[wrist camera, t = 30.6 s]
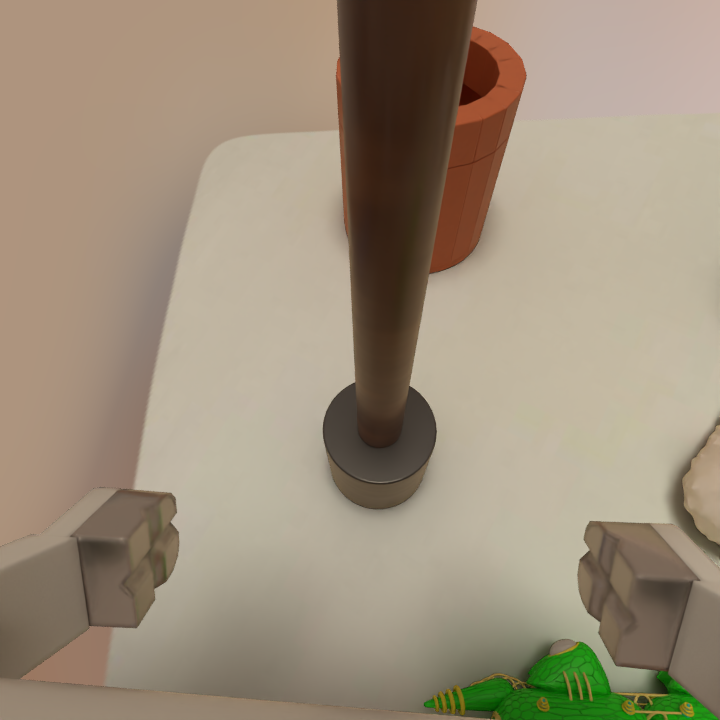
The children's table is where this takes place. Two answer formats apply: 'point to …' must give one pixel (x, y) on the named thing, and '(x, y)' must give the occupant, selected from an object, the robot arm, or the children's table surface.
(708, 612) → the robot arm
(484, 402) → the children's table surface
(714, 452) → the sitting furry creature
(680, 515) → the children's table surface
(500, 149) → the terracotta flower pot
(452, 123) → the rod on round base
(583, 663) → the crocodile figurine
